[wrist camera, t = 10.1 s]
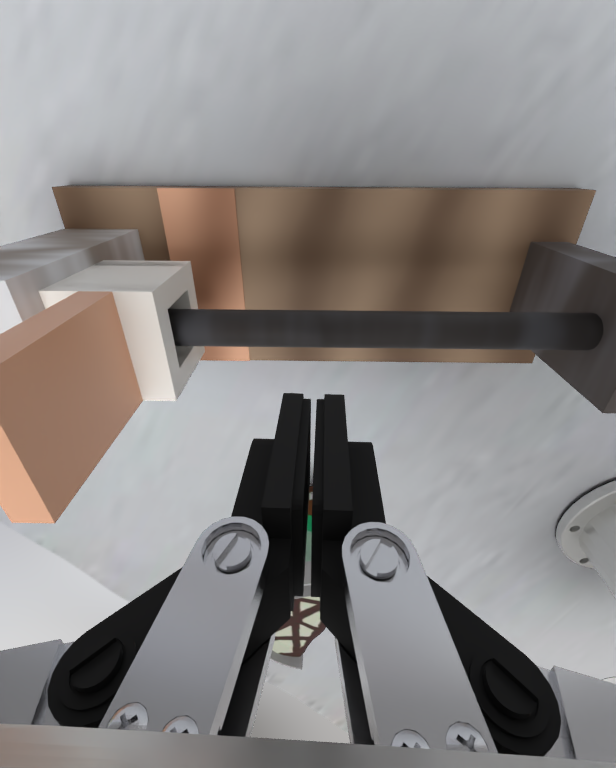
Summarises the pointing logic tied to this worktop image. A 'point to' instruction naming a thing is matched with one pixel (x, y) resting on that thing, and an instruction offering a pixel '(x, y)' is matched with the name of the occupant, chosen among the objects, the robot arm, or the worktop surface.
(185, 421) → the worktop surface
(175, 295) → the sleeve
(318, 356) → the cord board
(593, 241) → the worktop surface
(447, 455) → the worktop surface
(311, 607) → the food container
